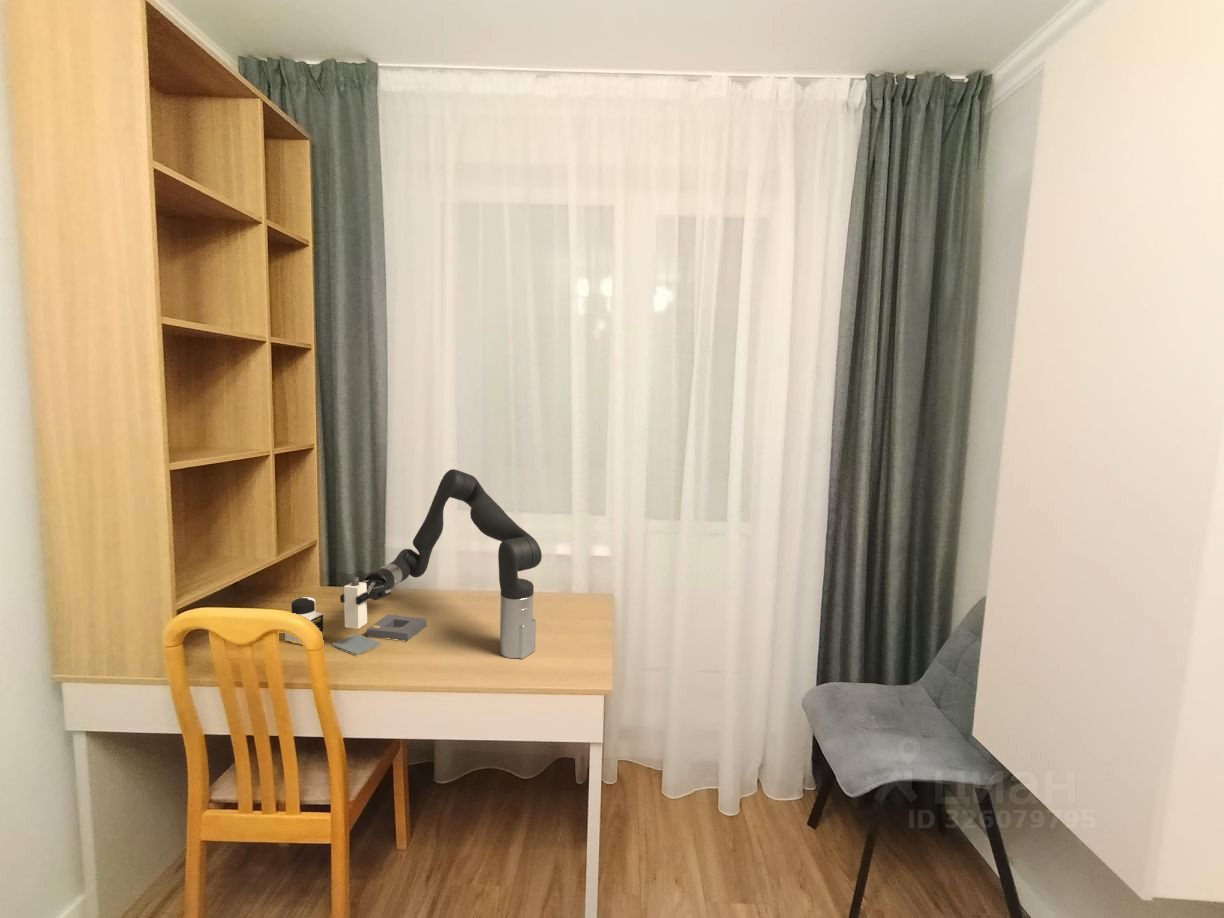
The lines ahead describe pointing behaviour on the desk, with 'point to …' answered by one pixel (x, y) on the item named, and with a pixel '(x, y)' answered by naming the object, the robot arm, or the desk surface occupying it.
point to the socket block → (387, 630)
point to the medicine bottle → (306, 613)
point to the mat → (356, 644)
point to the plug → (353, 611)
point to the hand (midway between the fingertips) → (349, 600)
